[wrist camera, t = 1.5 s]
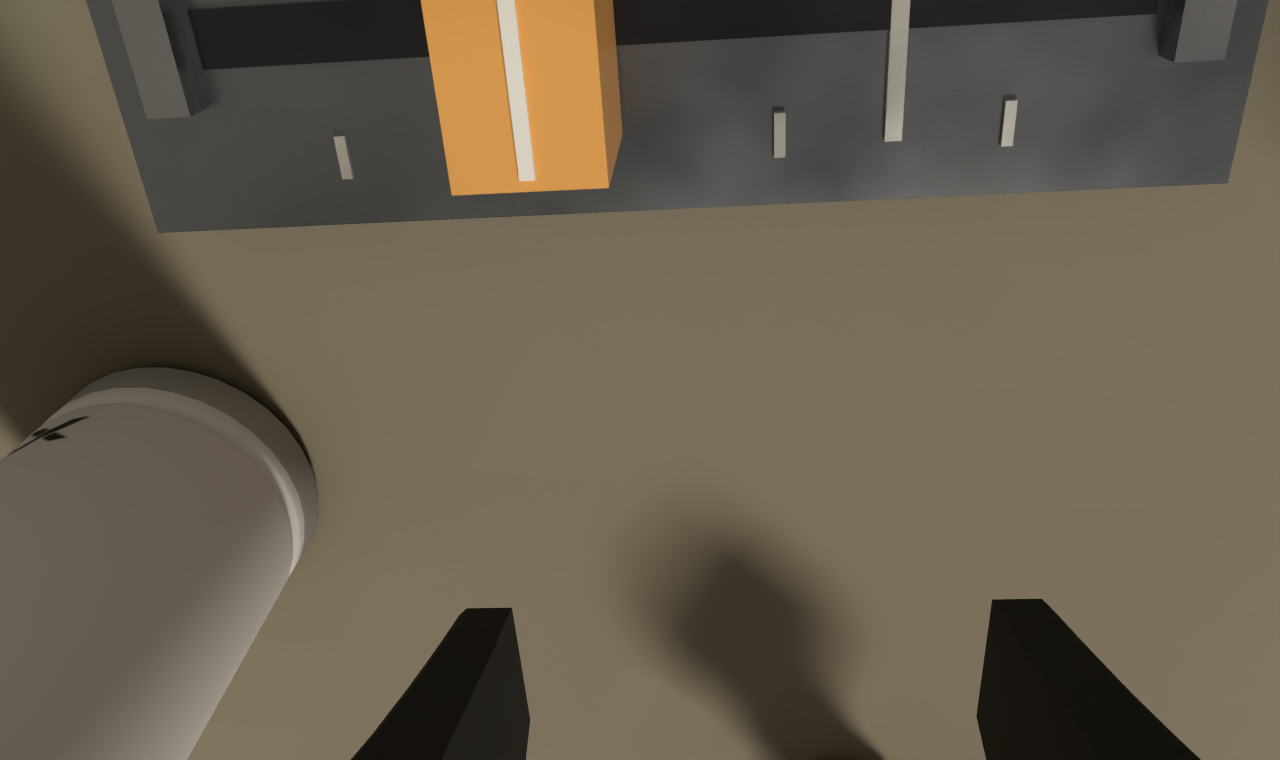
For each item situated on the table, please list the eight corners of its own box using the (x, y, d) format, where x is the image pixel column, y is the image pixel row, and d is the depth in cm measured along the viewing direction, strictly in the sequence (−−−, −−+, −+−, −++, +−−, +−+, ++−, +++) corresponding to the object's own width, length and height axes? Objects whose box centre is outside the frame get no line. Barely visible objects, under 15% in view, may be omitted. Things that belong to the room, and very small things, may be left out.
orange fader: (604, -117, 16) (583, -109, 13) (622, 133, 18) (607, 189, 15) (456, -106, 16) (403, -96, 13) (490, 140, 18) (450, 197, 15)
